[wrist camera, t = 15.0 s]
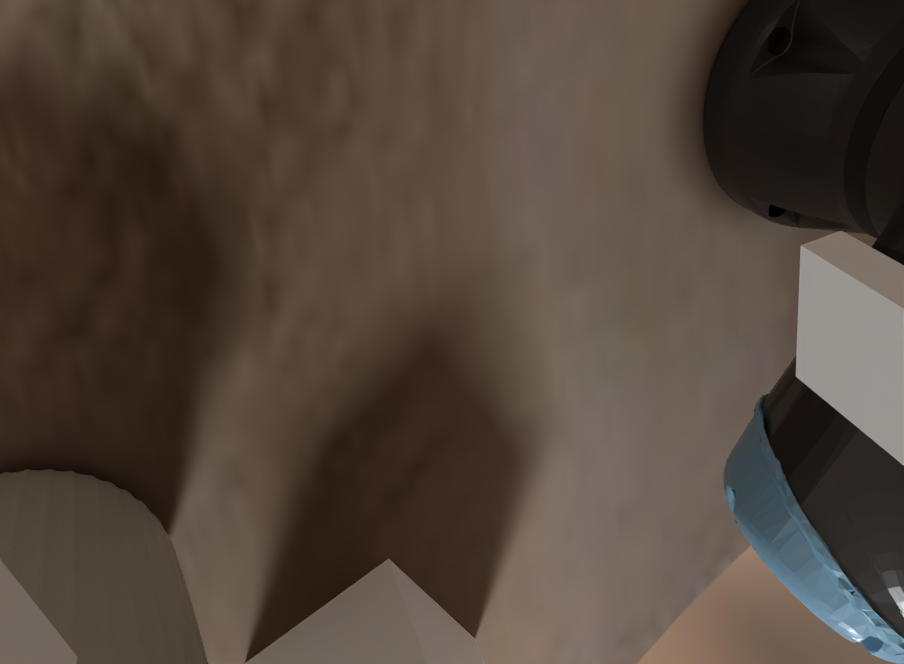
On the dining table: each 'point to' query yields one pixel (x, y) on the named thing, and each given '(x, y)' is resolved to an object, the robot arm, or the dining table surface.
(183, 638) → the canister
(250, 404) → the dining table surface
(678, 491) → the dining table surface
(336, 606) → the milk
